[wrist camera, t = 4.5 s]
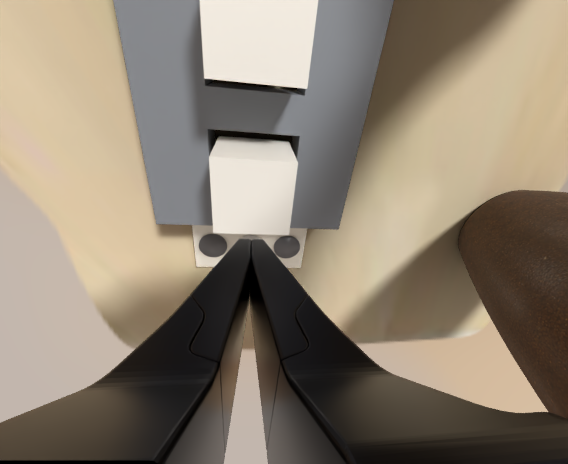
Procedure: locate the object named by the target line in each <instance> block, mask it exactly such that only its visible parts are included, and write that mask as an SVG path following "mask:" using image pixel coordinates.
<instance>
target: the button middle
mask: <svg viewBox="0 0 568 464" xmlns="http://www.w3.org/2000/svg"><path fill="white" fill-rule="evenodd" d="M317 7H318V0H200V17H201V34H202V51H203V68H204V79H214V80H224V81H234V82H244V83H254V84H264V85H273V86H283V87H293V88H303V89H307V87H308V79H309V71H310V63H311V55H312V47H313V39H314V31H315V23H316V15H317Z"/></svg>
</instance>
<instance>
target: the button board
mask: <svg viewBox="0 0 568 464" xmlns="http://www.w3.org/2000/svg"><path fill="white" fill-rule="evenodd" d="M113 1H114V7H115V12H116V17H117V22H118V27H119V33H120V38H121V43H122V48H123V53H124V58H125V64H126V69H127V74H128V79H129V84H130V90H131V95H132V100H133V105H134V110H135V115H136V121H137V126H138V131H139V136H140V141H141V147H142V152H143V157H144V162H145V167H146V173H147V178H148V183H149V188H150V193H151V198H152V204H153V209H154V214H155V219H156V224H175V225H208V226H213V219H212V202H211V186H210V169H209V156H210V154H211V151H212V149H213V147H214V145H215V143H216V142H215V130H227V131H240V132H253V133H266V134H279V135H292V142H291V148H292V150H293V152H294V155H295V157H296V159H297V161H298V168H297V176H296V184H295V192H294V200H293V208H292V216H291V224H290V228H308V229H339V226H340V221H341V217H342V213H343V209H344V205H345V201H346V197H347V193H348V188H349V184H350V180H351V176H352V172H353V168H354V164H355V159H356V155H357V151H358V147H359V143H360V139H361V135H362V131H363V126H364V122H365V118H366V114H367V110H368V106H369V102H370V97H371V93H372V89H373V85H374V81H375V77H376V73H377V68H378V64H379V60H380V56H381V52H382V48H383V44H384V40H385V35H386V31H387V27H388V23H389V19H390V15H391V11H392V6H393V2H394V0H318V7H317V15H316V23H315V31H314V39H313V47H312V55H311V63H310V71H309V79H308V87H307V89H303V88H297V91H295V90H285V89H275V88H265V87H255V86H245V85H235V84H225V83H215V82H213V79H204V68H203V51H202V34H201V17H200V0H113Z"/></svg>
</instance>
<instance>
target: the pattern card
mask: <svg viewBox="0 0 568 464" xmlns="http://www.w3.org/2000/svg"><path fill="white" fill-rule="evenodd" d="M192 231H193V240H194V249H195V258H196V267H215V266H216V265H217V263H218V262H219V261H220V260H221V259H222V258H223V257H224V255H225V254H226V253H227V252H228V251H229V250H230V248H231V247H232V246H233V245H234V244H235V243H236V242H237V240H238V239H250V240H252V239H263V240H264V241H265V242H266V243H267V245H268V246H269V247H270V248H271V249H272V251H273V252H274V253H275V254H276V256H277V257H278V258H279V259H280V260H281V262H282V263H283V264H284V265H285V267H286V268H301V264H302V258H303V252H304V246H305V240H306V234H307V228H290V232H289V235H263V234H225V233H213V226H208V225H192Z"/></svg>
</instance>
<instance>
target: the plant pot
mask: <svg viewBox="0 0 568 464" xmlns="http://www.w3.org/2000/svg"><path fill="white" fill-rule="evenodd" d="M458 246H459V250H460V252H461V255H462V258H463V261H464V263H465V265H466V268H467V270H468V273H469V275H470V277H471V279H472V282H473V284H474V286H475V288H476V290H477V292H478V294H479V296H480V298H481V300H482V302H483V304H484V306H485V308H486V310H487V312H488V314H489V316H490V318H491V319H492V321H493V323H494V325H495V326H496V328H497V330H498V332H499V334H500V335H501V337H502V339H503V341H504V342H505V344H506V346H507V347H508V349H509V351H510V352H511V354H512V355H513V357H514V359H515V361H516V362H517V364H518V365H519V367H520V369H521V370H522V372H523V373H524V375H525V377H526V378H527V380H528V381H529V383H530V384H531V386H532V387H533V389H534V390H535V392H536V394H537V395H538V397H539V398H540V400H541V401H542V403H543V404H544V406H545V407H546V409H547V410H548V412H549V413H554V414H557V415H559V416H562V417H565V418H567V419H568V193H566V192H551V191H529V190H518V191H511V192H507V193H504V194H502V195H499V196H497V197H495V198H493V199H491V200H489V201H488V202H486V203H485V204H483V205H482V206H480V207H479V208H478V209H477V210H476V211H475V212H474V213H473V214H472V215H471V216H470V217H469V218H468V220H467V221H466V223H465V224H464V226H463V228H462V230H461V232H460V235H459V239H458Z"/></svg>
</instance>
